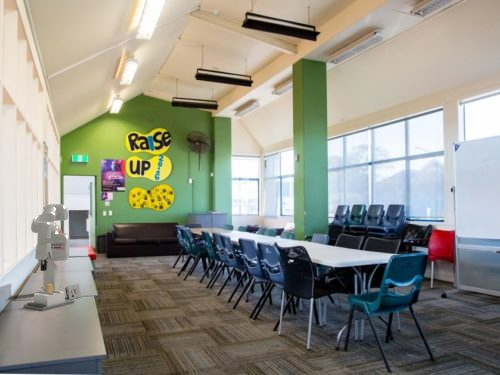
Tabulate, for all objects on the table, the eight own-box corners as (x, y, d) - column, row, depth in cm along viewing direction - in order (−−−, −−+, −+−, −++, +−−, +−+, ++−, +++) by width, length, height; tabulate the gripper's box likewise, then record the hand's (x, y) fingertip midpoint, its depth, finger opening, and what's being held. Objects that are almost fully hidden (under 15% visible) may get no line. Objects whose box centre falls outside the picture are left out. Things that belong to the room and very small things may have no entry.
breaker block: (23, 307, 247) (23, 292, 247) (54, 299, 266) (54, 286, 266) (43, 310, 238) (43, 295, 238) (74, 303, 257) (74, 289, 257)
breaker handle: (46, 292, 251) (46, 284, 252) (50, 292, 254) (50, 283, 254) (48, 293, 250) (48, 285, 251) (52, 292, 253) (52, 284, 253)
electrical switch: (69, 300, 265) (69, 285, 265) (64, 300, 267) (63, 286, 268) (81, 297, 273) (81, 283, 274) (76, 297, 275) (75, 283, 276)
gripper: (31, 241, 257) (30, 270, 256) (46, 242, 249) (45, 272, 249) (42, 240, 263) (41, 268, 262) (57, 241, 256) (56, 270, 255)
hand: (43, 270), depth 255 cm, fingers closed
